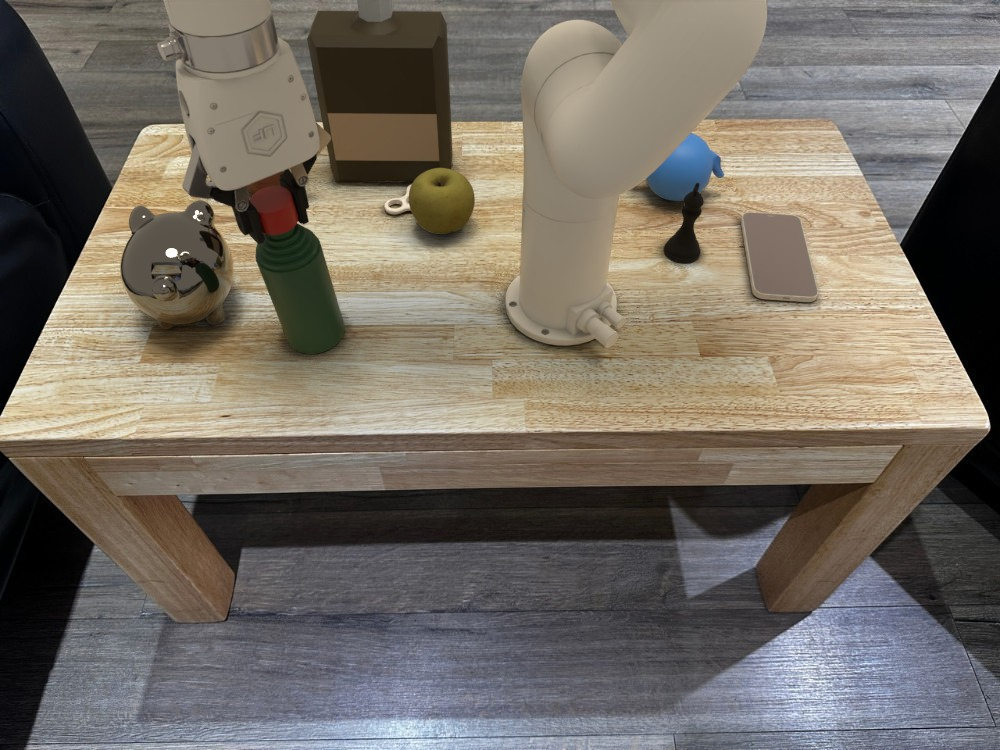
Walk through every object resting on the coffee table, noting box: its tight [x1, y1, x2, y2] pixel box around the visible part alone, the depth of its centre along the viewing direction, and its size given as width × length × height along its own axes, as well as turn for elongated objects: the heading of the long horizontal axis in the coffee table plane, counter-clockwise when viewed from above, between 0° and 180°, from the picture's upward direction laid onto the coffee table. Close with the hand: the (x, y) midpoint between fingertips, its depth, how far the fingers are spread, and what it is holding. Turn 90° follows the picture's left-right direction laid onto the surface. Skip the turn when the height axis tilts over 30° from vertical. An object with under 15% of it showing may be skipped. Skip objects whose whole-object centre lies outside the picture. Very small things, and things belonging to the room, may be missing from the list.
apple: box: [408, 168, 476, 235], centre depth 96 cm, size 8×8×7 cm
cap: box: [249, 186, 299, 235], centre depth 73 cm, size 4×4×3 cm
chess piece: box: [663, 183, 705, 264], centre depth 92 cm, size 4×4×10 cm
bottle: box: [306, 0, 454, 183], centre depth 97 cm, size 8×16×25 cm, turn 90°
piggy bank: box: [119, 199, 234, 330], centre depth 85 cm, size 11×15×12 cm
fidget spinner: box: [383, 183, 412, 215], centre depth 101 cm, size 7×6×1 cm
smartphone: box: [740, 211, 819, 303], centre depth 95 cm, size 7×1×15 cm
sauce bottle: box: [254, 222, 346, 355], centre depth 79 cm, size 6×6×18 cm
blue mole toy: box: [644, 132, 725, 202], centre depth 101 cm, size 12×12×8 cm
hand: (276, 224), depth 75 cm, fingers closed on cap, 4 cm apart
